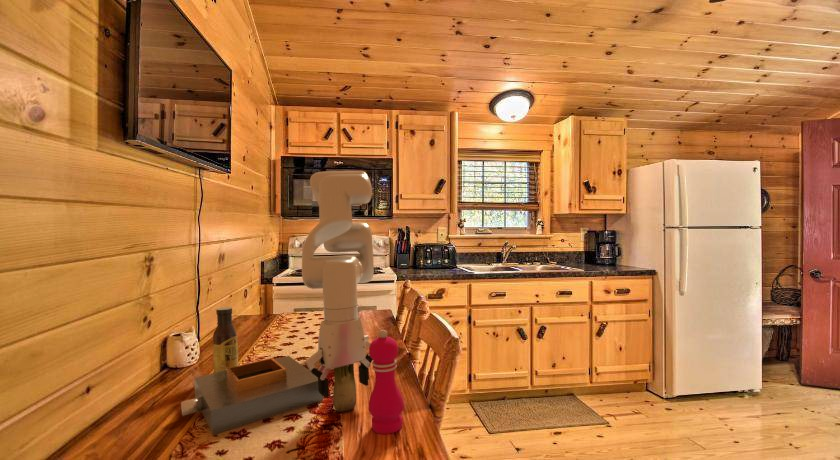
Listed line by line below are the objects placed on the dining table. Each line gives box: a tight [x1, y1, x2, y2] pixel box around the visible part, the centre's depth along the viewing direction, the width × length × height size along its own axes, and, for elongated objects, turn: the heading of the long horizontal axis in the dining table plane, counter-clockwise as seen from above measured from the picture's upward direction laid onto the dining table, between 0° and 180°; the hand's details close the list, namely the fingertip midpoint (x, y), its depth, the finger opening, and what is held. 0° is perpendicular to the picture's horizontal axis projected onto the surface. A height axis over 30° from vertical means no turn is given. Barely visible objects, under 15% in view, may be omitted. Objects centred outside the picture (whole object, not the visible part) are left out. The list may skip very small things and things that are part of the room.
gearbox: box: [180, 355, 324, 436], centre depth 99 cm, size 28×24×8 cm
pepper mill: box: [368, 329, 405, 435], centre depth 83 cm, size 7×7×20 cm
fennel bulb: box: [332, 363, 357, 413], centre depth 92 cm, size 6×5×12 cm
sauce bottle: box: [212, 306, 239, 373], centre depth 114 cm, size 6×6×20 cm
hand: (344, 389), depth 92 cm, fingers open, 9 cm apart
